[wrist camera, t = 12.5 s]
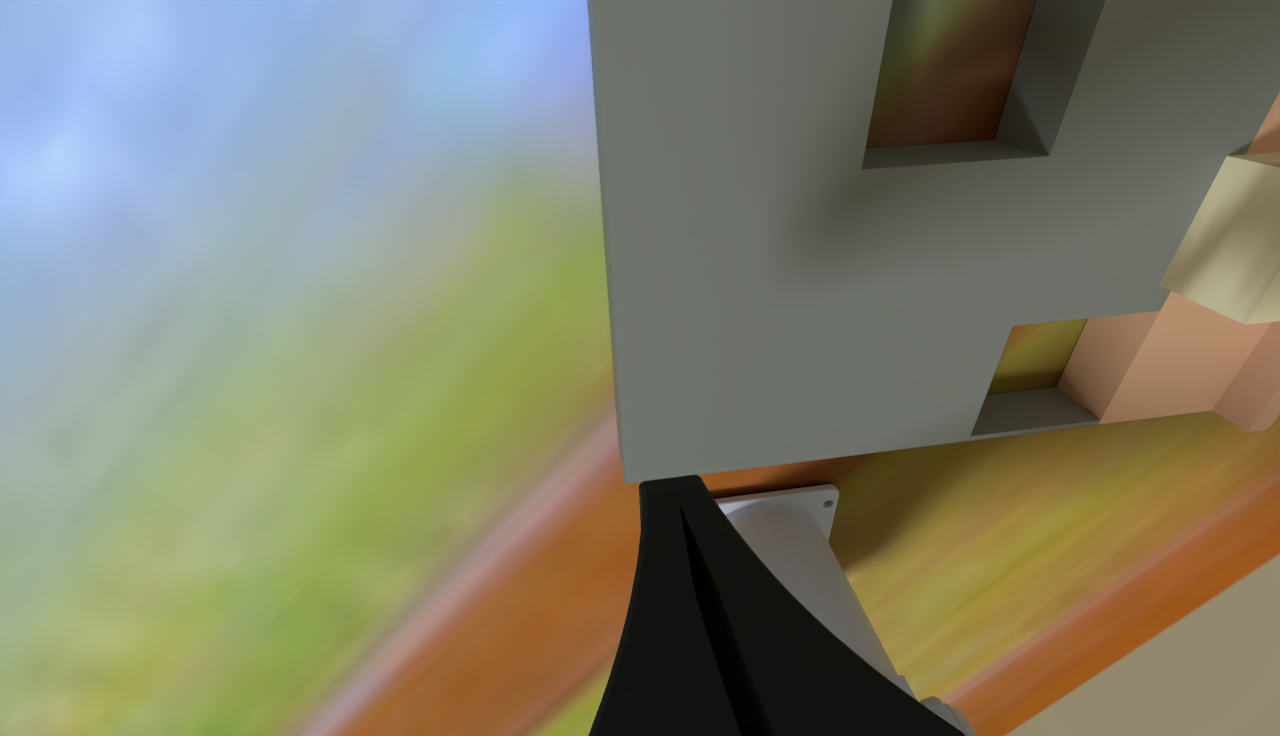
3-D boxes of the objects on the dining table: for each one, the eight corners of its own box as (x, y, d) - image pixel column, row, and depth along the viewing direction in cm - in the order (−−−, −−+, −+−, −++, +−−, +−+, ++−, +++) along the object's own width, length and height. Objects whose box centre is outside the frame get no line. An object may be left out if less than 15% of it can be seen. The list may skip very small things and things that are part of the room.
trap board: (1178, 376, 27) (1268, 429, 23) (618, 442, 24) (630, 512, 21) (1454, -77, 17) (1672, -96, 14) (584, -51, 14) (594, -68, 11)
